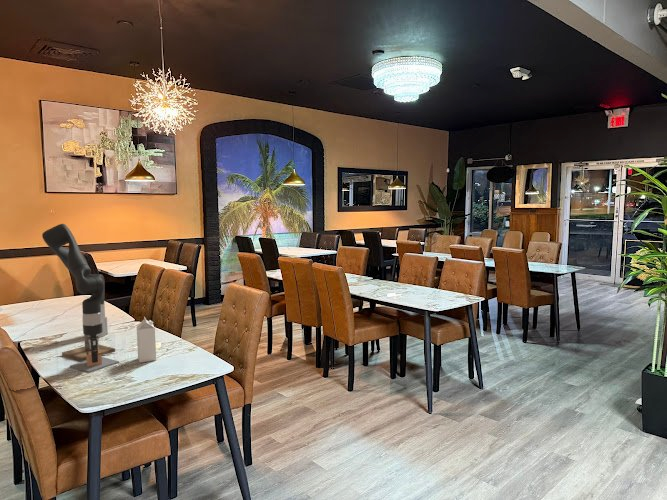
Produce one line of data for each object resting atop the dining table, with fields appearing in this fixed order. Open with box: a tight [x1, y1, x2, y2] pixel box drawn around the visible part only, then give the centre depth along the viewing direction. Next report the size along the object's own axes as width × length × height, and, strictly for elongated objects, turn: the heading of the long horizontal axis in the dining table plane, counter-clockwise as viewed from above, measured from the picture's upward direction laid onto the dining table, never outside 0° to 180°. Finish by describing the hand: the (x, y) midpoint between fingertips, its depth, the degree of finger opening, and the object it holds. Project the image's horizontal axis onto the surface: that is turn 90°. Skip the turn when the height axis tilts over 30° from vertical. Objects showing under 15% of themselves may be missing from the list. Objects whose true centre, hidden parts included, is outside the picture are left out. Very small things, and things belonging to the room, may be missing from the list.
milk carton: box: [136, 316, 157, 363], centre depth 207 cm, size 7×7×19 cm
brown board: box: [61, 334, 116, 362], centre depth 216 cm, size 16×16×9 cm
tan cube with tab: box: [86, 350, 103, 367], centre depth 201 cm, size 6×6×6 cm
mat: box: [69, 356, 120, 373], centre depth 201 cm, size 14×14×1 cm
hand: (94, 359), depth 201 cm, fingers open, 6 cm apart
